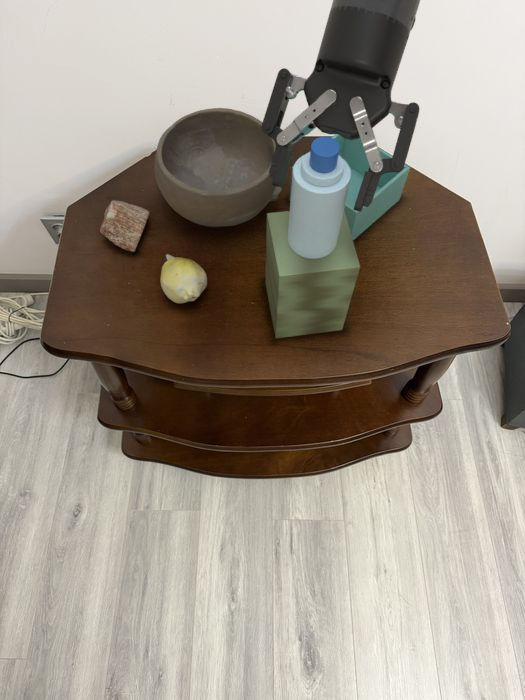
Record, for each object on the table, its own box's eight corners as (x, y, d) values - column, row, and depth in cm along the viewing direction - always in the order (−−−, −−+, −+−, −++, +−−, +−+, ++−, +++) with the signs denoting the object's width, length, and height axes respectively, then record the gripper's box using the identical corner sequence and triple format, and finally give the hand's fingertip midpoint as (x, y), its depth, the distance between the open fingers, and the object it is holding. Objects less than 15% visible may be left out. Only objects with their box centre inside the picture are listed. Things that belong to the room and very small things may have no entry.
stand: (328, 275, 74) (342, 204, 62) (342, 330, 70) (360, 266, 58) (265, 282, 74) (266, 213, 61) (275, 338, 69) (279, 276, 57)
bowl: (302, 200, 81) (307, 148, 72) (214, 265, 75) (209, 217, 66) (226, 142, 86) (222, 87, 77) (139, 199, 81) (125, 146, 72)
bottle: (345, 232, 60) (366, 139, 48) (322, 266, 58) (338, 177, 46) (302, 212, 61) (313, 117, 50) (278, 245, 59) (283, 153, 47)
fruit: (187, 251, 76) (222, 293, 71) (154, 277, 76) (188, 321, 71) (168, 227, 71) (205, 270, 66) (133, 255, 71) (168, 301, 66)
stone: (121, 261, 78) (139, 252, 74) (87, 238, 74) (104, 228, 71) (138, 222, 81) (156, 212, 77) (105, 199, 77) (123, 187, 74)
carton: (399, 199, 81) (410, 167, 75) (349, 244, 77) (356, 213, 71) (340, 160, 85) (346, 126, 79) (289, 200, 81) (291, 167, 75)
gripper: (288, -14, 46) (240, 177, 51) (451, 24, 43) (383, 220, 48) (304, 15, 53) (260, 180, 58) (445, 49, 50) (386, 218, 55)
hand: (317, 198), depth 53 cm, fingers open, 8 cm apart
